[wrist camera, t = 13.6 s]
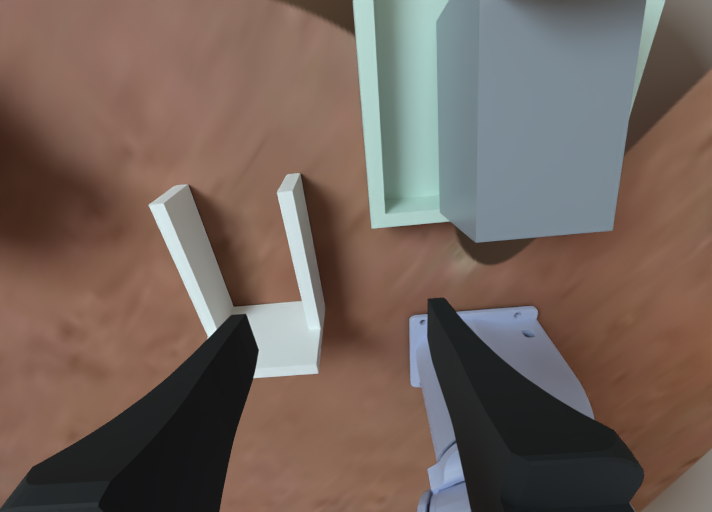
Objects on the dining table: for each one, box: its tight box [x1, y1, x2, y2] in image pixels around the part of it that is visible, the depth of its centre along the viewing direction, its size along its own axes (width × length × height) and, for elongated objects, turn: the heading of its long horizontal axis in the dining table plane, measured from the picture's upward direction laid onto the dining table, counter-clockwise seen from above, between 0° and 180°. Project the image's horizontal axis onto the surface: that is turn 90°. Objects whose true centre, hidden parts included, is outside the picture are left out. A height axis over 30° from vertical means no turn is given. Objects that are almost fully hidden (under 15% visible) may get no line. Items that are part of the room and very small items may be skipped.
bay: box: [149, 173, 325, 378], centre depth 20 cm, size 8×10×6 cm
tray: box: [353, 0, 665, 228], centre depth 16 cm, size 13×15×2 cm
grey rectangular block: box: [436, 0, 646, 242], centre depth 12 cm, size 5×9×9 cm, turn 5°
